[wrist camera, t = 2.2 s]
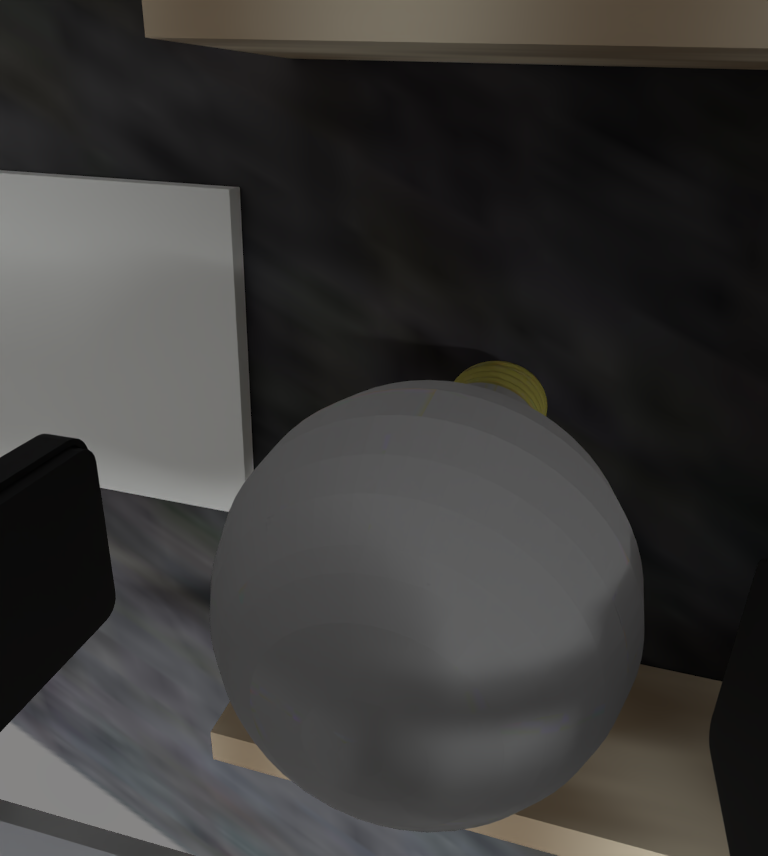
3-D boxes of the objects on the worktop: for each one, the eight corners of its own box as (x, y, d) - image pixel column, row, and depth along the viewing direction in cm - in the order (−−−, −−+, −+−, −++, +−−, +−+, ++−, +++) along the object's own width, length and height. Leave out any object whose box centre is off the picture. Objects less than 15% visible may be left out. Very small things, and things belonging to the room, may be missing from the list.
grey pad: (239, 187, 15) (229, 189, 15) (255, 505, 19) (247, 515, 18) (-62, 165, 17) (-79, 167, 17) (1, 459, 21) (-12, 466, 20)
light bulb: (343, 316, 16) (24, 572, 7) (587, 232, 14) (553, 450, 5) (427, 523, 18) (248, 939, 9) (658, 476, 15) (723, 961, 7)
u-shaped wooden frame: (1140, 17, 11) (1516, -43, 6) (843, 734, 17) (926, 958, 12) (287, 11, 14) (138, -32, 9) (300, 615, 20) (213, 758, 16)
